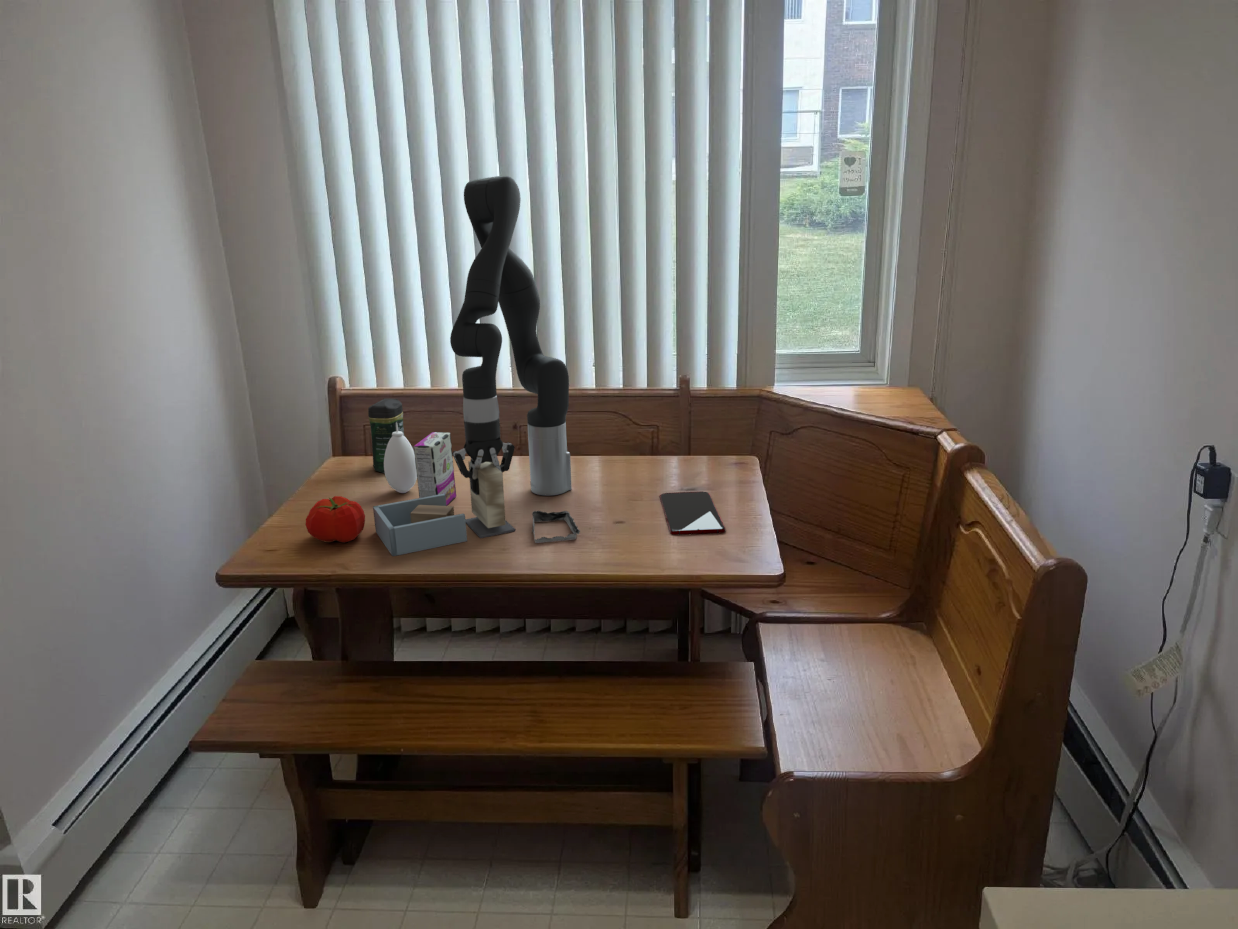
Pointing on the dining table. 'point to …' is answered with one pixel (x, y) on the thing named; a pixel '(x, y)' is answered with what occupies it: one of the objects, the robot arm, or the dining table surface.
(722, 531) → the smartphone
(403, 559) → the dining table surface
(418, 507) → the offcut block upper
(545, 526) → the dining table surface
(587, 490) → the dining table surface
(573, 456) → the dining table surface
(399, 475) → the sauce bottle
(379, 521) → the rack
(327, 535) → the tomato
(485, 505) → the beige hardcover book
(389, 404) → the coffee jar
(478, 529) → the mat
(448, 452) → the candy bar box
